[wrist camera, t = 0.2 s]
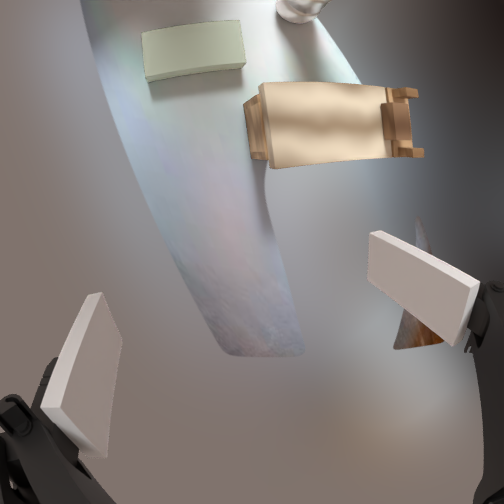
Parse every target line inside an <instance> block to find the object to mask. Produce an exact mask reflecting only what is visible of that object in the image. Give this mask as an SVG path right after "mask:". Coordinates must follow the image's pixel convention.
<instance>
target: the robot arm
mask: <svg viewBox="0 0 504 504" xmlns="http://www.w3.org/2000/svg"><path fill="white" fill-rule="evenodd" d="M367 280H368V281H369V282H370V283H372V284H373V285H375V286H376V287H377V288H378V289H380V290H381V291H382V292H384V293H385V294H387V295H388V296H389V297H390V298H392V299H393V300H394V301H395V302H397V303H398V304H399V305H401V306H402V307H403V308H405V309H406V310H407V311H408V312H410V313H411V314H412V315H414V316H415V317H416V318H417V319H419V320H420V321H421V322H422V323H424V324H425V325H426V326H427V327H429V328H430V329H431V330H432V331H434V332H435V333H436V334H437V335H439V336H440V337H441V338H442V339H444V340H445V341H446V342H447V343H449V344H450V345H451V346H454V345H456V344H457V343H459V342H460V341H461V340H462V339H463V337H464V334H465V332H466V329H467V328H469V329H470V330H471V333H470V336H469V338H468V341H467V344H466V346H465V349H464V352H465V353H466V352H467V349H468V347H469V346H471V349H470V353H473V357H474V362H475V367H476V372H477V379H478V385H479V392H480V400H481V408H482V419H483V437H484V471H483V477H482V480H481V481H480V483H479V485H478V487H477V489H476V492H475V494H474V499H473V504H504V283H502V282H499V281H488V282H487V283H486V285H484V284H483V283H481V282H480V281H478V280H476V279H474V278H473V277H471V276H469V275H467V274H466V273H464V272H462V271H460V270H458V269H456V268H454V267H453V266H451V265H449V264H447V263H445V262H443V261H442V260H439V259H438V258H436V257H434V256H432V255H430V254H428V253H426V252H424V251H422V250H420V249H418V248H416V247H414V246H412V245H410V244H408V243H406V242H404V241H402V240H400V239H397V238H395V237H393V236H391V235H389V234H387V233H385V232H383V231H381V230H380V231H375V232H371V233H369V256H368V275H367ZM122 342H123V340H122V338H121V336H120V334H119V331H118V329H117V327H116V325H115V322H114V320H113V317H112V315H111V313H110V310H109V308H108V305H107V303H106V300H105V298H104V295H103V293H102V292H100V293H95V294H91V295H88V296H87V298H86V300H85V302H84V304H83V306H82V308H81V310H80V312H79V314H78V316H77V318H76V320H75V322H74V324H73V326H72V328H71V331H70V333H69V335H68V337H67V339H66V341H65V344H64V346H63V348H62V351H61V353H60V355H59V357H57V358H54V359H53V360H52V361H51V362H50V363H49V365H48V366H47V367H46V370H45V372H44V374H43V378H42V379H41V382H40V386H39V387H38V390H37V392H36V395H35V398H34V400H33V403H32V406H31V409H30V408H29V407H28V405H27V404H26V403H25V402H24V400H23V399H22V398H21V397H20V396H19V395H16V394H11V395H8V396H6V397H4V398H3V399H2V400H0V426H1V427H2V428H3V430H4V431H5V432H4V433H0V504H116V503H115V502H114V501H113V500H112V498H111V497H110V496H109V495H108V494H107V493H106V492H105V490H104V489H103V488H102V487H101V486H100V484H99V483H98V482H97V481H96V479H95V478H94V477H93V475H92V474H91V473H90V472H89V470H88V469H87V468H86V466H85V465H84V464H83V462H82V461H81V460H80V459H79V458H78V453H79V450H80V451H81V452H82V453H84V454H85V455H86V456H87V457H88V458H107V453H108V438H109V427H110V418H111V410H112V401H113V395H114V387H115V381H116V375H117V369H118V363H119V357H120V352H121V347H122ZM9 480H10V481H11V482H12V483H13V489H12V488H11V486H10V481H9Z"/></svg>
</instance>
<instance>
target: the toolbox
mask: <svg viewBox="0 0 504 504" xmlns="http://www.w3.org/2000/svg"><path fill="white" fill-rule="evenodd" d="M385 94H386V101H387V103H390V102H395V103H404V104H408V99H410V98H419V97H418V90H417V89H412V88H407V87H404V88H398V89H393V88H385ZM243 106H244V112H245V119H246V126H247V133H248V140H249V146H250V153H251V159H260V160H269V158H268V151H267V143H266V136H265V129H264V122H263V115H262V108H261V102H260V95H259V94H257V95H255V96H254V97H253V98H251V99H250V100H248V101H247V102H245V103H244V104H243ZM408 108H409V105H408ZM409 116H410V114H409ZM410 126H411V123H410ZM411 138H412V133H411ZM391 150H392V157H412V158H416V157H424V149H422V148H413V147H412V140H391Z"/></svg>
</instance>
